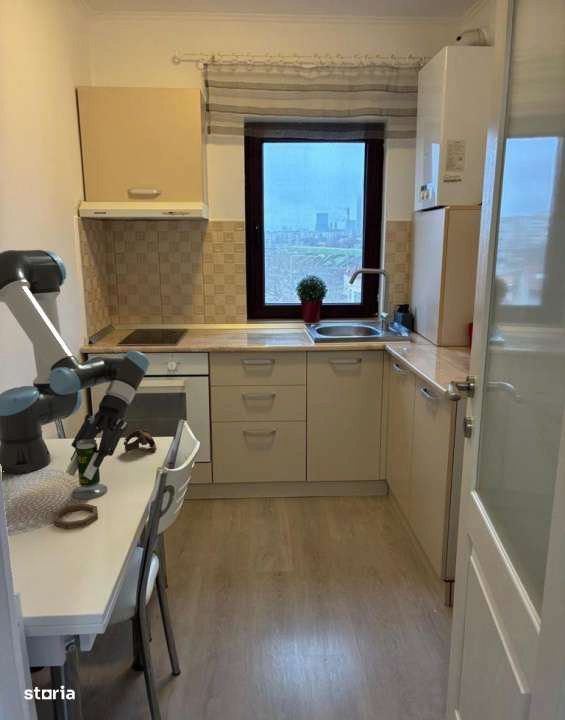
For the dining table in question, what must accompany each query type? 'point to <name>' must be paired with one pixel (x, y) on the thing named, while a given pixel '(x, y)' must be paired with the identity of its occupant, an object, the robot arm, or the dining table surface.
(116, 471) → the dining table surface
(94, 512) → the walnut ring
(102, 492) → the slate coaster
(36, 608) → the dining table surface
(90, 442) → the beer can
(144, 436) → the dark brown arched part
